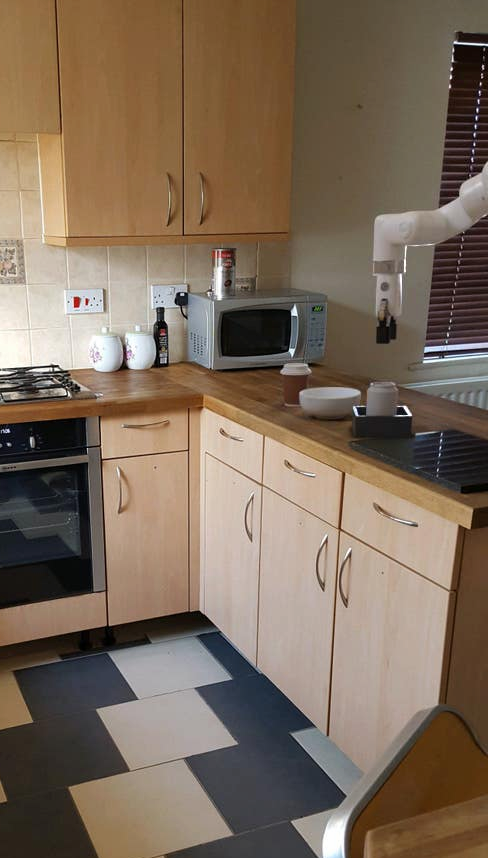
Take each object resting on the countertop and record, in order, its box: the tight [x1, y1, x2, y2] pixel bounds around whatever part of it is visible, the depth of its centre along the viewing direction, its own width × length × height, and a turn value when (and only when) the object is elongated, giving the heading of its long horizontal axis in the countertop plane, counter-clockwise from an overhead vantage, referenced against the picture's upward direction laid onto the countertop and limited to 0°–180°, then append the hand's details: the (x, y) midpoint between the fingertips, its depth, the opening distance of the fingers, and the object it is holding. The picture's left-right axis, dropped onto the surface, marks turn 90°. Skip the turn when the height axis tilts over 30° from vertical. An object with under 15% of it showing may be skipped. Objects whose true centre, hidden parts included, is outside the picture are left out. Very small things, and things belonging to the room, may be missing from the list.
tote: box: [350, 405, 413, 439], centre depth 222 cm, size 14×14×6 cm
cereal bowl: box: [299, 386, 362, 420], centre depth 243 cm, size 17×17×7 cm
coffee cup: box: [280, 362, 312, 407], centre depth 261 cm, size 9×9×12 cm
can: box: [366, 381, 399, 416], centre depth 221 cm, size 8×8×12 cm
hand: (386, 341), depth 215 cm, fingers open, 9 cm apart
